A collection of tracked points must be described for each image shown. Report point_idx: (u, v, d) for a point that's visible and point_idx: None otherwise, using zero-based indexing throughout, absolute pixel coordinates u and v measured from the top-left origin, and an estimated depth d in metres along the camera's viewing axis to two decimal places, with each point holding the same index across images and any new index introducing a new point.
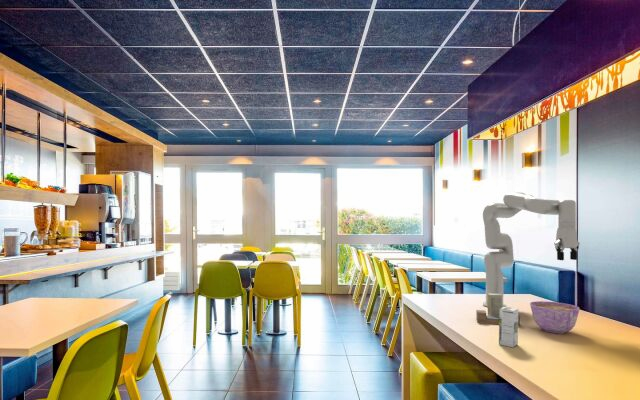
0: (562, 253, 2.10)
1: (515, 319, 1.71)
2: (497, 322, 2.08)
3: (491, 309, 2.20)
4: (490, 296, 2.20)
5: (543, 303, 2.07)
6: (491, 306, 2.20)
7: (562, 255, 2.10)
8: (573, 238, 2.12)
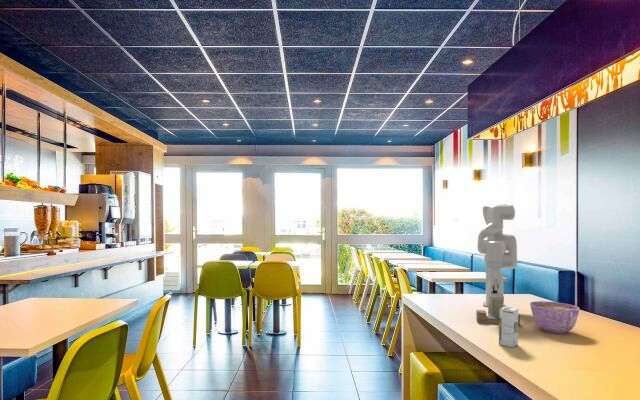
0: None
1: (515, 319, 1.71)
2: (497, 322, 2.08)
3: (492, 310, 2.19)
4: (492, 298, 2.17)
5: (543, 303, 2.07)
6: (492, 307, 2.18)
7: None
8: None
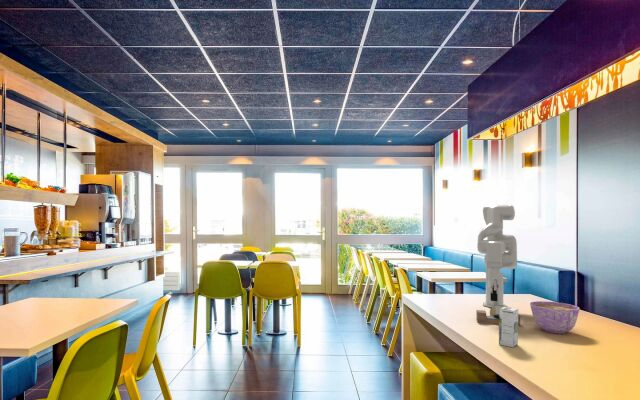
0: (496, 294, 2.24)
1: (515, 319, 1.71)
2: (497, 322, 2.08)
3: None
4: (496, 314, 2.10)
5: (543, 303, 2.07)
6: None
7: (496, 296, 2.24)
8: None
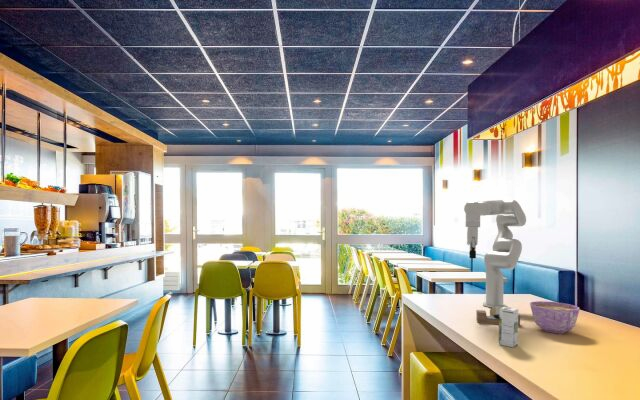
0: (475, 252, 2.35)
1: (515, 319, 1.71)
2: (497, 322, 2.08)
3: None
4: (496, 314, 2.10)
5: (543, 303, 2.07)
6: None
7: (475, 254, 2.35)
8: None
